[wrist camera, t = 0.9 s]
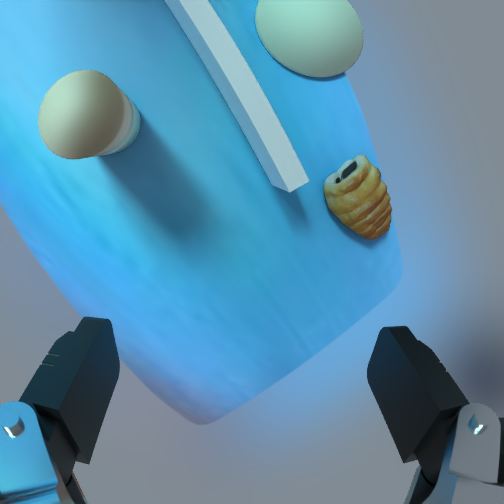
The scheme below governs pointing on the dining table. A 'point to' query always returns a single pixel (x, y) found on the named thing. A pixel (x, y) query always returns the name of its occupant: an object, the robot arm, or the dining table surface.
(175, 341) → the dining table surface
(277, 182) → the wall
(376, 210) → the pastry
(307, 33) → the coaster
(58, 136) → the dome-topped cylinder
